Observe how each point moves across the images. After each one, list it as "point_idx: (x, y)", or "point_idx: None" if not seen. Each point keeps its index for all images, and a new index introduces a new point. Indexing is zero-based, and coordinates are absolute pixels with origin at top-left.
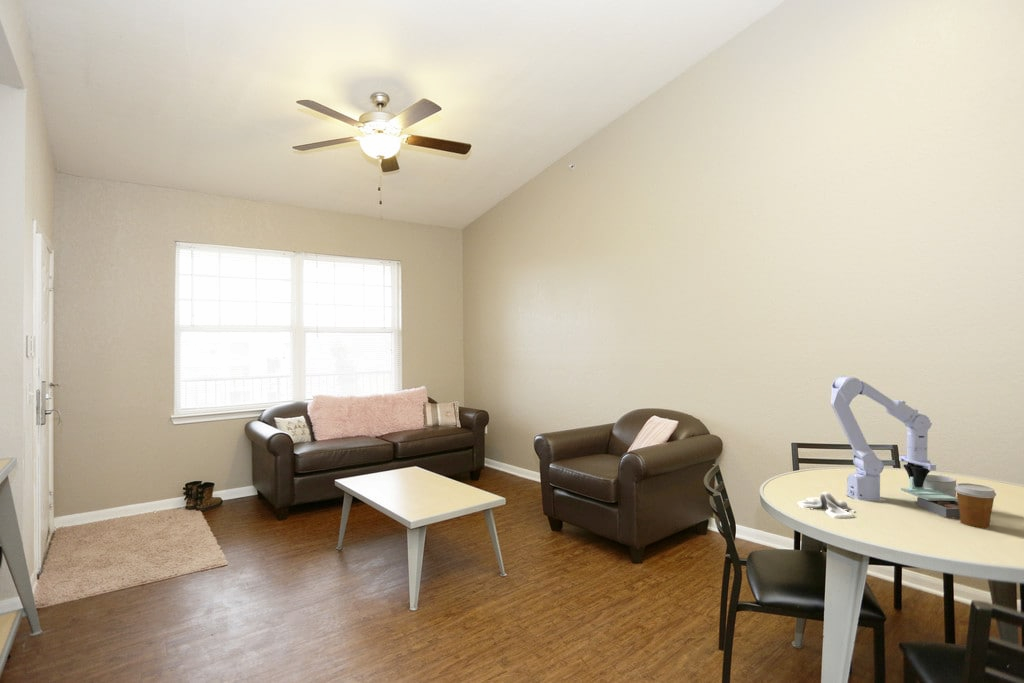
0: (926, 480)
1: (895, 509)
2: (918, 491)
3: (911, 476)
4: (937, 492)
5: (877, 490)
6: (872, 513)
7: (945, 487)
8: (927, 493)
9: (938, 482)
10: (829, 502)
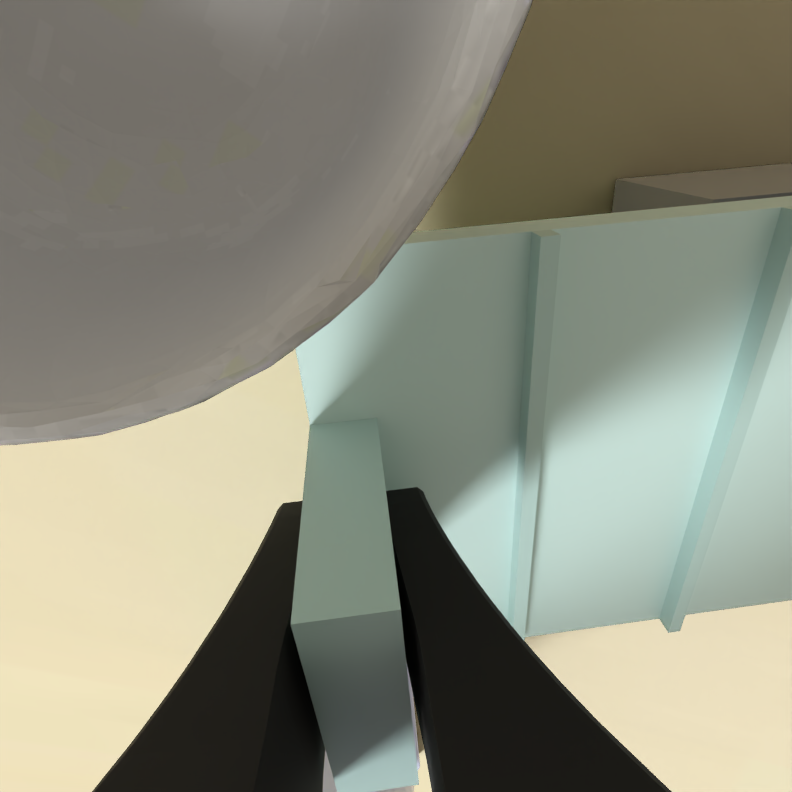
0: (216, 385)
1: (596, 648)
2: (532, 559)
3: (318, 776)
4: (608, 313)
5: (406, 788)
6: (650, 757)
7: None
8: (703, 544)
9: (454, 156)
10: None
